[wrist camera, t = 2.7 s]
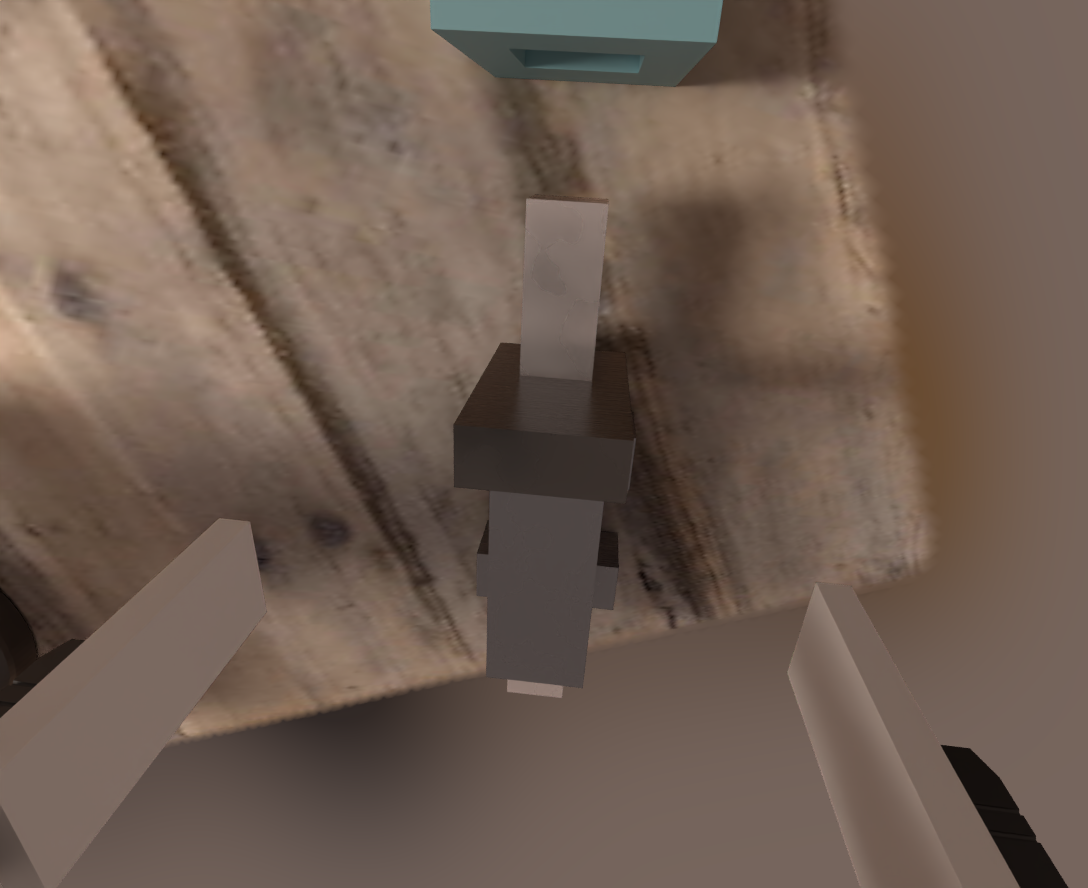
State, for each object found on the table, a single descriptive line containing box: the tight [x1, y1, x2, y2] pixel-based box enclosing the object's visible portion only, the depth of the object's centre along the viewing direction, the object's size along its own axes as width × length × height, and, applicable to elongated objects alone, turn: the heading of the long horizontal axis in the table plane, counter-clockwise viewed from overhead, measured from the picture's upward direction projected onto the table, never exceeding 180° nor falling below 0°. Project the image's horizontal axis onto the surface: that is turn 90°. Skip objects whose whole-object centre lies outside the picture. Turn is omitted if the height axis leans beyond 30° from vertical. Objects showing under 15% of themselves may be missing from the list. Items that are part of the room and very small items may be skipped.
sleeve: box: [477, 412, 636, 688], centre depth 32 cm, size 13×8×8 cm, turn 177°
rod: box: [454, 194, 634, 698], centre depth 27 cm, size 25×6×10 cm, turn 177°
